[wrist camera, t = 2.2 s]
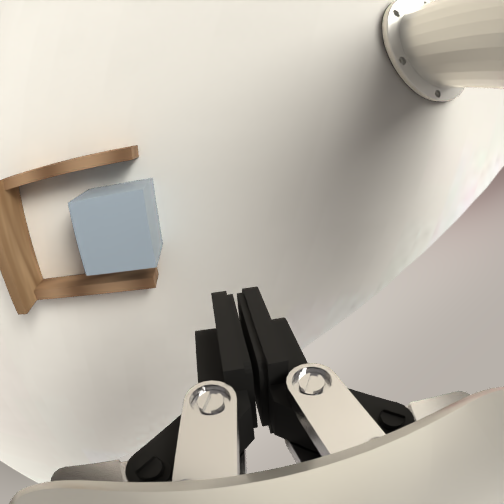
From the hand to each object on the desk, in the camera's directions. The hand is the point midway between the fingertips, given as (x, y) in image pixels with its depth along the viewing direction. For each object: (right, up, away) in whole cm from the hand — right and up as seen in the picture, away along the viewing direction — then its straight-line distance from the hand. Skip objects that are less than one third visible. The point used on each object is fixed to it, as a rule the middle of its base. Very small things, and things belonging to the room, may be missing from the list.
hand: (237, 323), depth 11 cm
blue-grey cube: (-11, +6, +14) cm, 19 cm away
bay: (-15, +5, +13) cm, 21 cm away
